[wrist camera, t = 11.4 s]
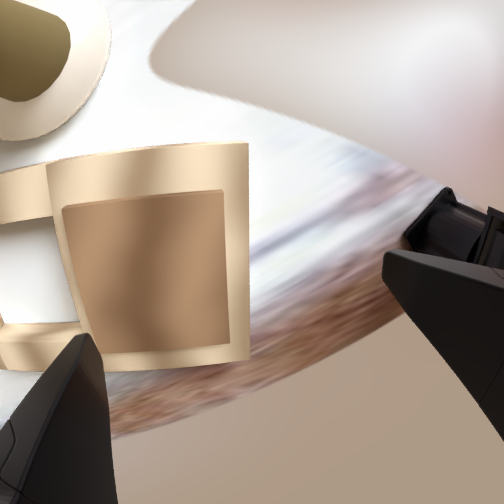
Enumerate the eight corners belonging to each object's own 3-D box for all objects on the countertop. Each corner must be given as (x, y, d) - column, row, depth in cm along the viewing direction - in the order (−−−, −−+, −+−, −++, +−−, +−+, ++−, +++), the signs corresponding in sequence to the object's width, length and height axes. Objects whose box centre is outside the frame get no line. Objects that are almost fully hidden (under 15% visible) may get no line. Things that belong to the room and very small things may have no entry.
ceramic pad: (51, -35, 10) (46, -40, 9) (147, 38, 15) (145, 34, 14) (-46, 87, 11) (-54, 87, 10) (34, 172, 16) (27, 175, 15)
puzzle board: (240, 140, 18) (251, 144, 16) (243, 338, 24) (252, 366, 22) (-48, 186, 14) (-73, 198, 11) (5, 350, 20) (-8, 374, 17)
